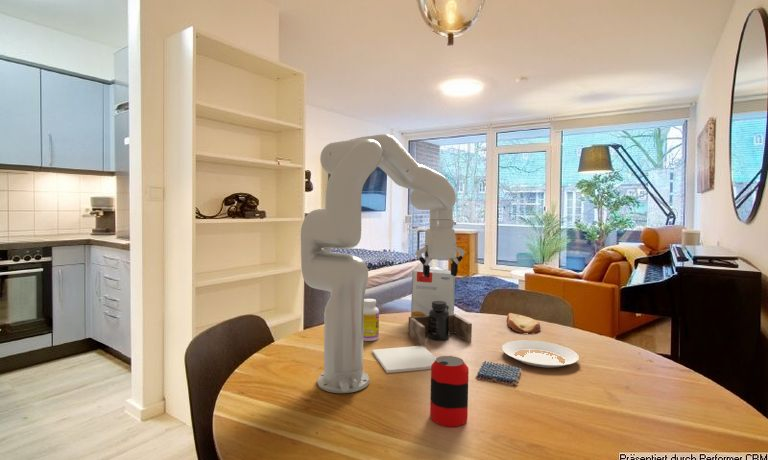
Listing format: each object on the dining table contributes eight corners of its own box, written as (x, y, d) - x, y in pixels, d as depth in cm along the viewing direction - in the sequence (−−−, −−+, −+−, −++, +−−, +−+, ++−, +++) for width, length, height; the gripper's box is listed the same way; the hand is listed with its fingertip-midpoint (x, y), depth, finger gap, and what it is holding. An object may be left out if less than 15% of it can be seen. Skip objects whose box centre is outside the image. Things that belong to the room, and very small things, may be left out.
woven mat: (522, 373, 109) (522, 365, 109) (517, 388, 99) (517, 380, 99) (482, 366, 113) (482, 359, 113) (474, 381, 103) (474, 373, 103)
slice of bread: (513, 317, 165) (513, 308, 165) (555, 328, 151) (555, 318, 151) (485, 324, 154) (485, 315, 154) (528, 336, 140) (528, 326, 140)
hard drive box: (410, 323, 153) (411, 270, 152) (414, 318, 161) (415, 268, 160) (451, 327, 149) (452, 273, 148) (454, 321, 156) (455, 270, 155)
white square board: (443, 367, 111) (443, 364, 111) (387, 373, 106) (387, 370, 106) (422, 348, 126) (422, 345, 126) (372, 352, 122) (372, 349, 122)
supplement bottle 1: (378, 342, 131) (378, 302, 131) (357, 341, 131) (358, 302, 131) (379, 335, 138) (379, 298, 137) (359, 335, 138) (359, 297, 137)
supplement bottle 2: (435, 333, 141) (436, 299, 141) (452, 337, 137) (453, 302, 136) (424, 337, 136) (425, 302, 135) (442, 342, 132) (442, 305, 131)
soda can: (422, 417, 84) (423, 360, 83) (444, 405, 89) (446, 351, 89) (452, 432, 78) (454, 371, 78) (474, 418, 84) (476, 361, 83)
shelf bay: (471, 341, 133) (471, 323, 132) (421, 345, 128) (421, 327, 128) (455, 330, 144) (455, 314, 144) (408, 334, 140) (408, 317, 139)
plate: (503, 368, 111) (503, 360, 111) (500, 344, 131) (500, 337, 131) (586, 377, 106) (587, 368, 106) (570, 350, 126) (570, 343, 126)
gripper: (459, 224, 141) (459, 273, 142) (412, 224, 136) (412, 275, 137) (470, 225, 133) (469, 277, 134) (420, 225, 129) (419, 279, 130)
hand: (440, 276), depth 136 cm, fingers open, 9 cm apart
